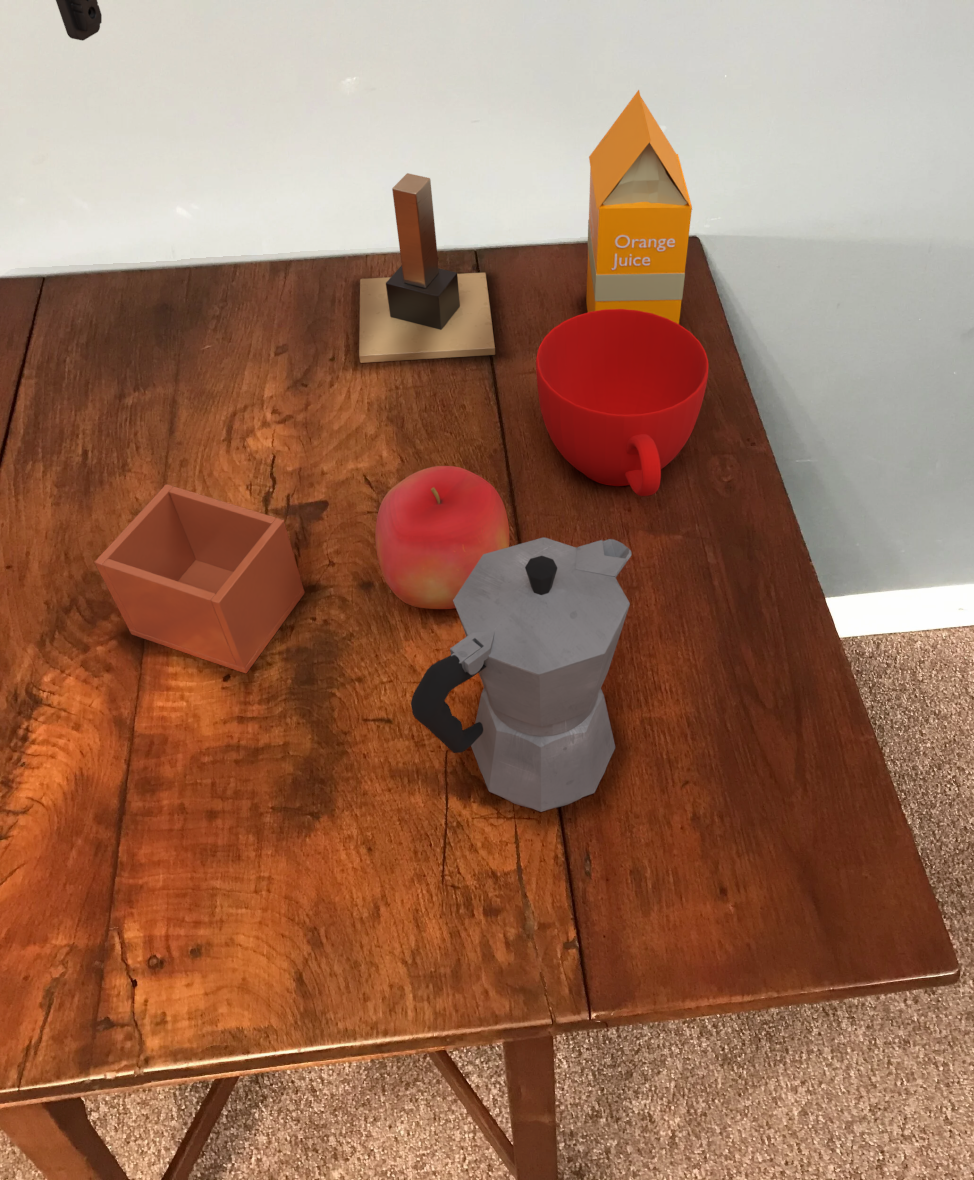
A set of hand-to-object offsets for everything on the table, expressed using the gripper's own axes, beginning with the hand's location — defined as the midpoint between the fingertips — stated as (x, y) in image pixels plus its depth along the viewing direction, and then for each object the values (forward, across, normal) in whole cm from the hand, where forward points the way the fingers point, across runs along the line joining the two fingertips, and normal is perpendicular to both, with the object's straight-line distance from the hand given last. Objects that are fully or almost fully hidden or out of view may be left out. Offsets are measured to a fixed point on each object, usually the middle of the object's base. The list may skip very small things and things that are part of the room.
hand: (28, 23), depth 64 cm
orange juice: (+30, -33, -25) cm, 51 cm away
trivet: (+30, -15, -19) cm, 39 cm away
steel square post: (+29, -15, -19) cm, 38 cm away
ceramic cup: (+30, -39, -6) cm, 50 cm away
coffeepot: (+30, -42, +21) cm, 56 cm away
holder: (+30, -17, +18) cm, 39 cm away
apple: (+30, -31, +10) cm, 44 cm away
